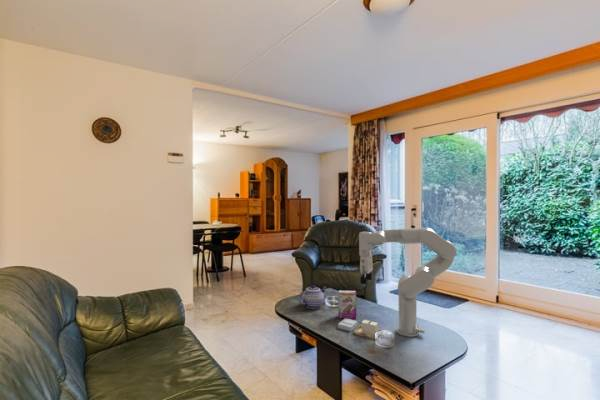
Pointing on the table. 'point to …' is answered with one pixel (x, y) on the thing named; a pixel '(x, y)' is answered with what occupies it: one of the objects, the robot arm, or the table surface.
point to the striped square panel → (347, 324)
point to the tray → (359, 332)
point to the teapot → (312, 297)
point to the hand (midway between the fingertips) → (366, 281)
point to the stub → (369, 327)
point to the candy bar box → (347, 304)
